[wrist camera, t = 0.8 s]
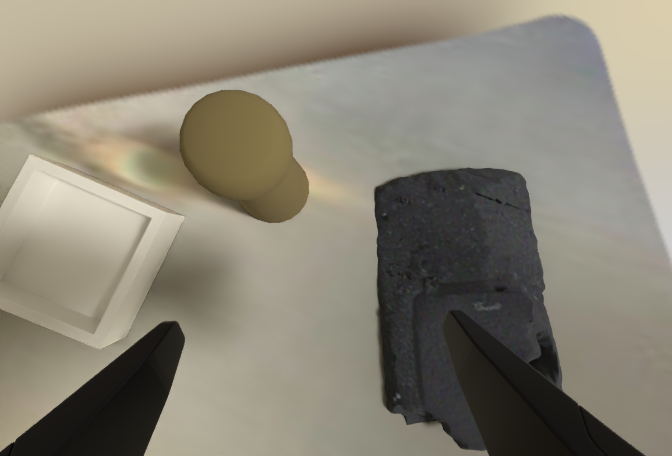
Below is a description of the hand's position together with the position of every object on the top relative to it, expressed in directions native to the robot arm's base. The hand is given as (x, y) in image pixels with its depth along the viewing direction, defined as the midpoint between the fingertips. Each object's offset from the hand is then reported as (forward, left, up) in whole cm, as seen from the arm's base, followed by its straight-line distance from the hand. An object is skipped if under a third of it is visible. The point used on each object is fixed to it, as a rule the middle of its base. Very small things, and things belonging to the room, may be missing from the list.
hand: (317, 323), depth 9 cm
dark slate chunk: (+3, -12, -14) cm, 19 cm away
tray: (-5, +18, -13) cm, 22 cm away
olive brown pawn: (+5, +7, -13) cm, 16 cm away
